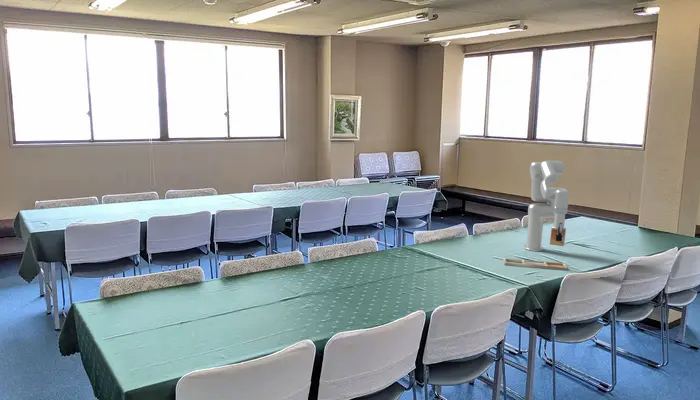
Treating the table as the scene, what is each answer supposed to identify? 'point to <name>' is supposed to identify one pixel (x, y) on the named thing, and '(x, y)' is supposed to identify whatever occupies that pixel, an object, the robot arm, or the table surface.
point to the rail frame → (536, 264)
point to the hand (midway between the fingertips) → (557, 239)
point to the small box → (553, 237)
